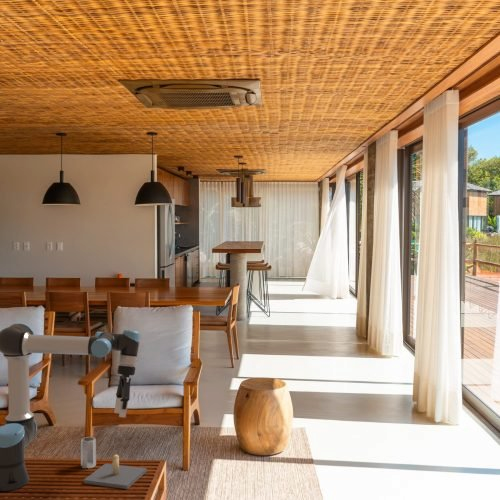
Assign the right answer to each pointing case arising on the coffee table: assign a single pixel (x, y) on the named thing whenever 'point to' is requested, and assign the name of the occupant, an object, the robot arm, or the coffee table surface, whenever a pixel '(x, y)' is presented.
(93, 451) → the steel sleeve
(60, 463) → the coffee table surface
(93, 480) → the post plate
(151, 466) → the coffee table surface
